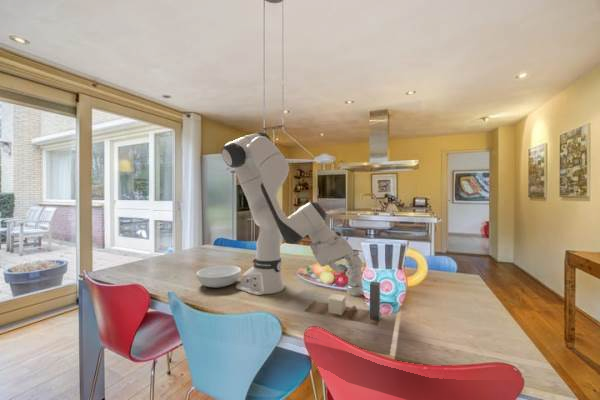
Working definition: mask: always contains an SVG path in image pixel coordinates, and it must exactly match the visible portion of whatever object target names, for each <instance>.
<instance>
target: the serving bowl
mask: <svg viewBox="0 0 600 400" xmlns="http://www.w3.org/2000/svg"><path fill="white" fill-rule="evenodd" d="M241 273H242V269H241V268H240V267H239V266H236V265H217V266H209V267H205V268H202V269H200V270H198V271H197V272H196V277H197V278H196V279H197V281H198V282H199V283H200V284H201V285H202V286H204V287H208V288H215V289H216V288H219V289H220V288H224V287H227V286H230V285H232V284H234V283H236V282H237V281H238V280H239V278H240V276H241Z"/></svg>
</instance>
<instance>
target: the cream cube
mask: <svg viewBox="0 0 600 400" xmlns="http://www.w3.org/2000/svg"><path fill="white" fill-rule="evenodd" d="M346 299H347V298H346V295H342V294H336V293H335V294H334V293H332V294H331V295H330V296H329V297H328V299H327V300H328V302H327V303H328V312H329V313H334V314H339V315H342V314H343V313H344V311H345V307H347V306H346V304H347V303H346Z"/></svg>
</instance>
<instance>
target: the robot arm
mask: <svg viewBox="0 0 600 400" xmlns="http://www.w3.org/2000/svg"><path fill="white" fill-rule="evenodd" d="M221 156H222V159H223V161H224V163H225V164H226V165H227V166H228V167H230V168H233V169H234V171H235V175H236V178H237V181H238V183H239V185H240V187H241V190H242V192H243V194H244V196H245V198H246V200H247V204H248V208H249V211H250V213H251V216H252V220H253V222H254V223H255V224H256V226H258V227H259V232H258V237H257V240H256V257H255V258H254V259H252V260H251V264H253V265H252V266H251V267H250V268H249V269H247V270H246V271H245V272H244V273H243V274H242V275H241V281H240V282H239V283H238V284H236V287H235V289H236V290H240V291H243V292H246V293H250V294H252V295H255V296H261V295H262V296H263V295H268V294H276V293H279V292H281V291H283V290H284V288H285V287H284V284H283V280H282V279H283V278H282V272H281V271H282V258H281V240H283V241H284V242H285V243H286V244H289V245H297V244H298V243H299V242H301V241H302V240H303V239H304V238H305V237H306V236H308V237H309V239H310V241H311V242H312V243H310V249H311V251H312V254H313V257H314V258H315V260H316V261H317V263H318V265H320V266H321V267H327V266H329V268H331V269H332V270H334V271H335V272H336V274H337V275H339V274H341V273H343V268H342V267H341V266H339V265H337V263H336V262H339V261H342V260H345V261H346V262H347V261H348V265H349V266H350V268H352V267H354V266H355V264H354V262H353V260H352V257H351V254H352V253H353V250H354V249H353V248H352V246H351V245H350V243H349V242H348V241H347V240H346V238H344V237H343V235H344V234H342V232H340V231H337V230H336V231H335V230H333V229H331V228H330V227H329V226H328V225H327V224H326V223H325V222H326V219H327V213H326V211H325V210H324V209H323V208H322V207H321V206H320V204H319V203H318V202H315V201H309V202H307V203H305V204H303V205H301V206H300V207H298V208H297V210H295V211H294V212H293V213H291V214H290V215H288V216H286V213H285V211H284V210H282V208H281V205H280V204H279V201H278V199H277V197H278V196H277V195H278V192H279V190H280V188H281V187H282V186H283V185H284V183H285V182H286V179H287V178H288V175H289V171H290V166H289V163H288V160H287V159H286V157H285V156H284V155H283V153H282V152H281V150H280V149H279V148H278V147H277V146H276V144H275V143H273V141H272V140H271V138H270V136H269V135H268V134H267V133H266V132H263V131H260V132H259V131H258V132H255V133H252V134H247V135H244V136H243V135H242V137H239V138H236V139H235V140H233V141H229V142H227V143H225V144H224V145H223V146H222V148H221Z"/></svg>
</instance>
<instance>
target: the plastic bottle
mask: <svg viewBox="0 0 600 400" xmlns="http://www.w3.org/2000/svg"><path fill="white" fill-rule="evenodd" d="M359 252H360V251H359V250H358V249H353V253H352V254H351V255H350V256H351V257H352V260H353V262H354V264H355V266H354V267H352V268H350V266H349V265H348V261H347V260H346V266H347V276H348V277H347V278H348V279H347V288H346V293H347V294H348V295H349V296H351V297H352V296H353V297H359V296H362V295H363V288H362V278H361V277H362V276H361V275H362V266H363V262H362V259H361V258H360V256H359V255H360V253H359Z"/></svg>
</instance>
